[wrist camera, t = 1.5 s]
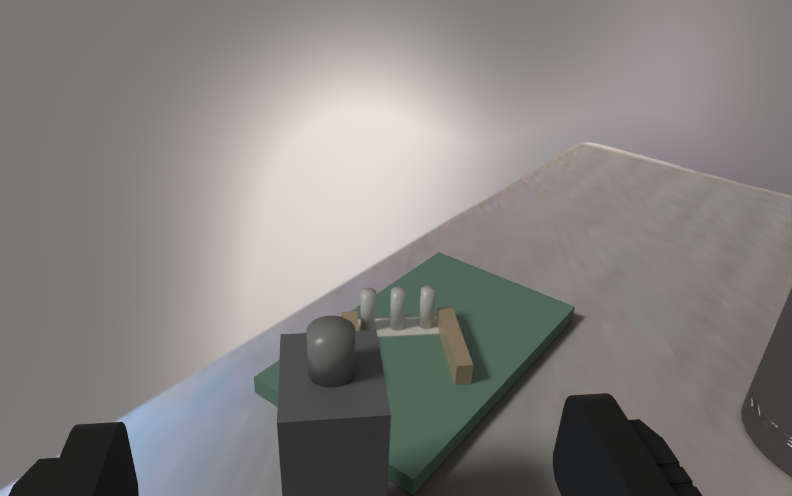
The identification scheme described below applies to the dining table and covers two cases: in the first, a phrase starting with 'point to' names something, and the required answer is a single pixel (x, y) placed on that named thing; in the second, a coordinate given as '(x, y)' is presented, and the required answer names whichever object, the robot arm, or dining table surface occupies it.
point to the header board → (446, 355)
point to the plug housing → (333, 412)
